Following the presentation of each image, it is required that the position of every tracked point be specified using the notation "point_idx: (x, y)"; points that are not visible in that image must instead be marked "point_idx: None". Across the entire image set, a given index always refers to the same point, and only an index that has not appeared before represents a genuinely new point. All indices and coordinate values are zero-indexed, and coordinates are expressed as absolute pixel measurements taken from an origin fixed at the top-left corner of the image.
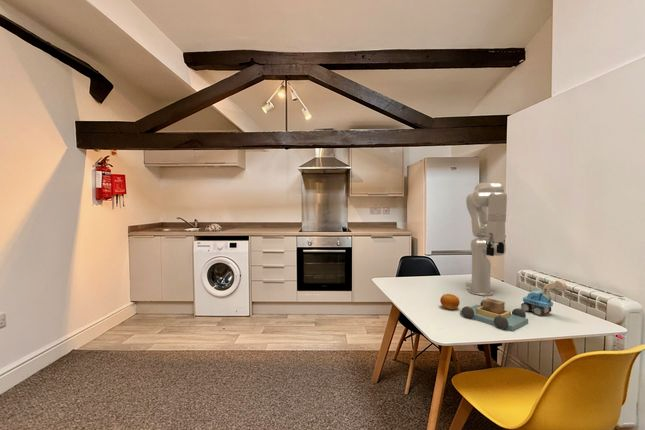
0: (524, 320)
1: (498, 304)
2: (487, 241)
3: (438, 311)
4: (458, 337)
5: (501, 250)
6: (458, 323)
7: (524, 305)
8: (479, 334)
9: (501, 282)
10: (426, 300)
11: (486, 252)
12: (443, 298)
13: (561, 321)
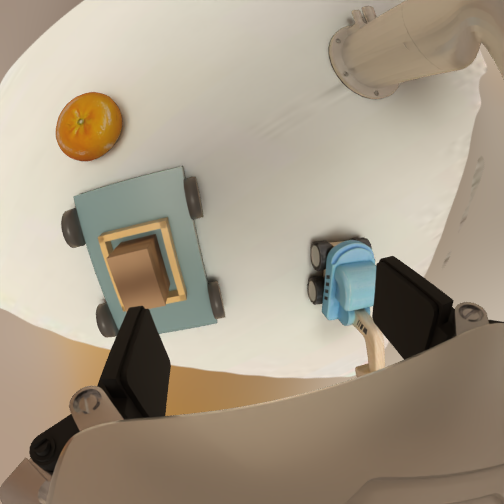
0: (192, 327)
1: (126, 309)
2: (33, 481)
3: (45, 147)
4: (6, 301)
5: (389, 322)
6: (37, 246)
7: (317, 256)
8: (45, 311)
9: (482, 71)
10: (95, 41)
11: (122, 323)
12: (56, 126)
13: (313, 330)
